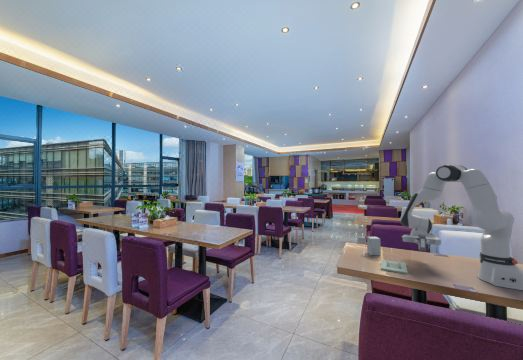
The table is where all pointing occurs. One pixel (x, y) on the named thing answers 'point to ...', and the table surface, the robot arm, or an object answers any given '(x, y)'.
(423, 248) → the drive
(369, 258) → the table surface
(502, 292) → the table surface
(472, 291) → the table surface
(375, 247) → the supplement box
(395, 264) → the pin tray
